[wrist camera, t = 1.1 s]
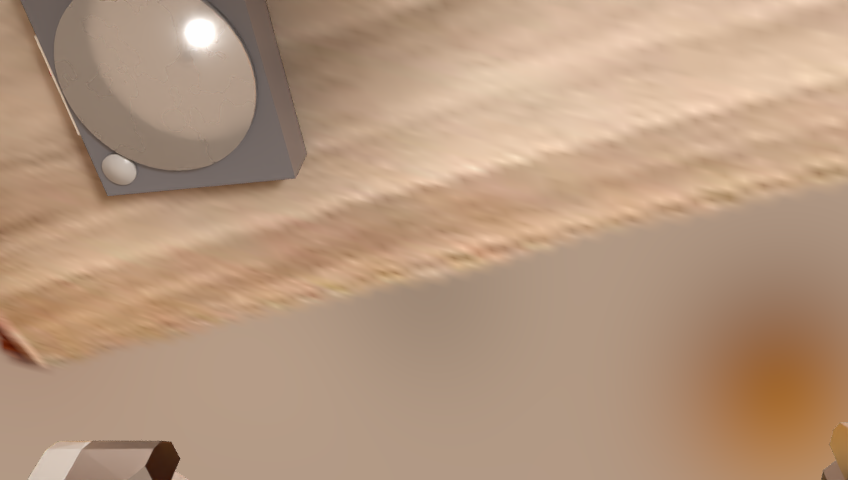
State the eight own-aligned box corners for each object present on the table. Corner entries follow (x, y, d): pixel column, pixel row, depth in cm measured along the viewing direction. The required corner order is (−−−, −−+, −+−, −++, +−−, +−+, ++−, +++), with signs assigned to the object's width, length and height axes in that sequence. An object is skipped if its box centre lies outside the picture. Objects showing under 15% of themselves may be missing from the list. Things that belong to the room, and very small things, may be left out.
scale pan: (24, -11, 40) (18, -8, 39) (223, -40, 38) (219, -37, 37) (105, 173, 46) (101, 178, 45) (280, 156, 44) (278, 161, 43)
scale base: (24, -52, 42) (-10, -36, 39) (241, -86, 39) (221, -72, 37) (120, 172, 49) (97, 199, 46) (306, 154, 47) (294, 181, 44)
